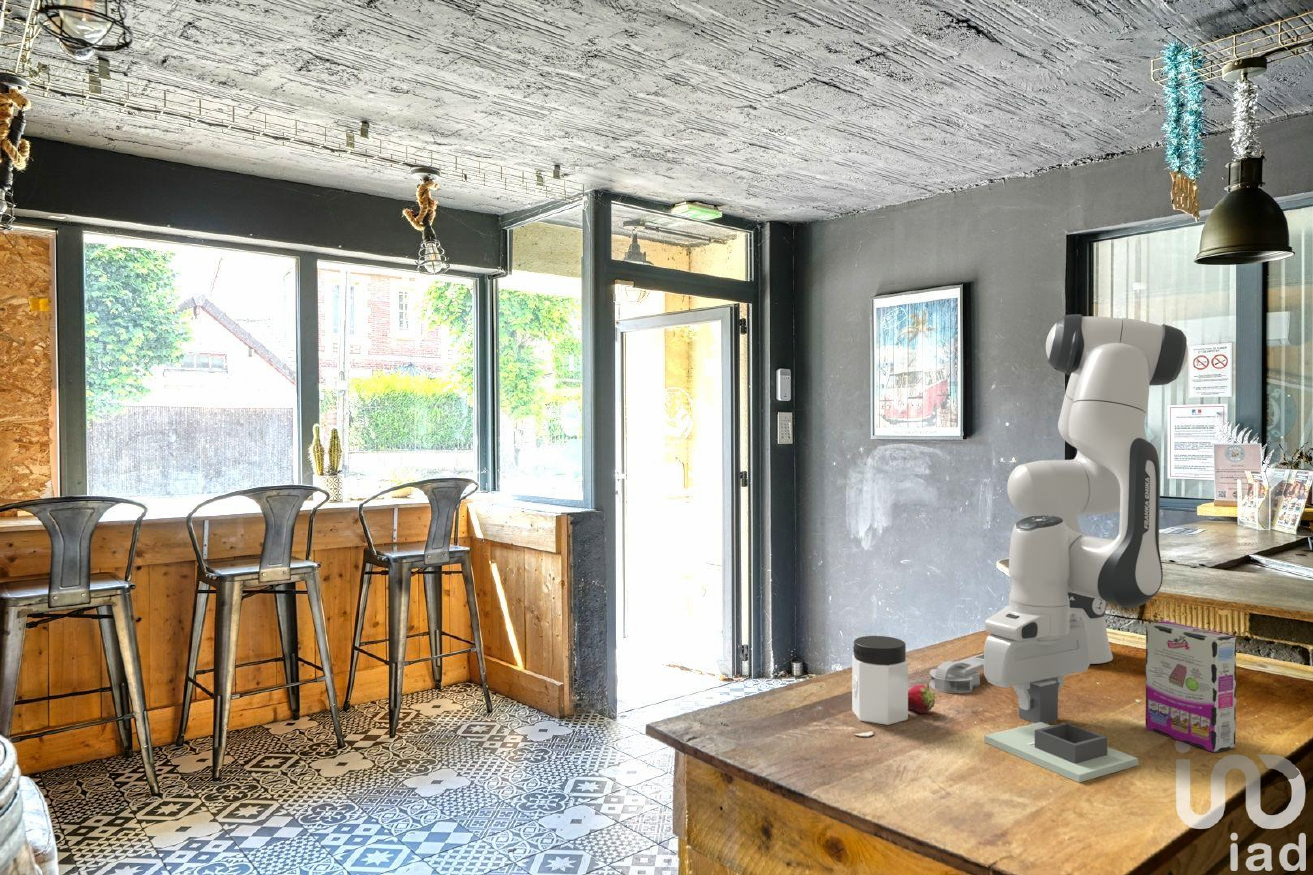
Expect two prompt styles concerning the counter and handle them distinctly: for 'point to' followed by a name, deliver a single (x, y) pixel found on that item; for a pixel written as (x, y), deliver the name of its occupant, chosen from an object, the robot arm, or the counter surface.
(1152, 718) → the candy bar box
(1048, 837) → the counter surface
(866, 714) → the jar
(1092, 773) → the header board
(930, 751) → the counter surface
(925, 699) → the fruit
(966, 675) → the zipper pull
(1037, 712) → the plug
